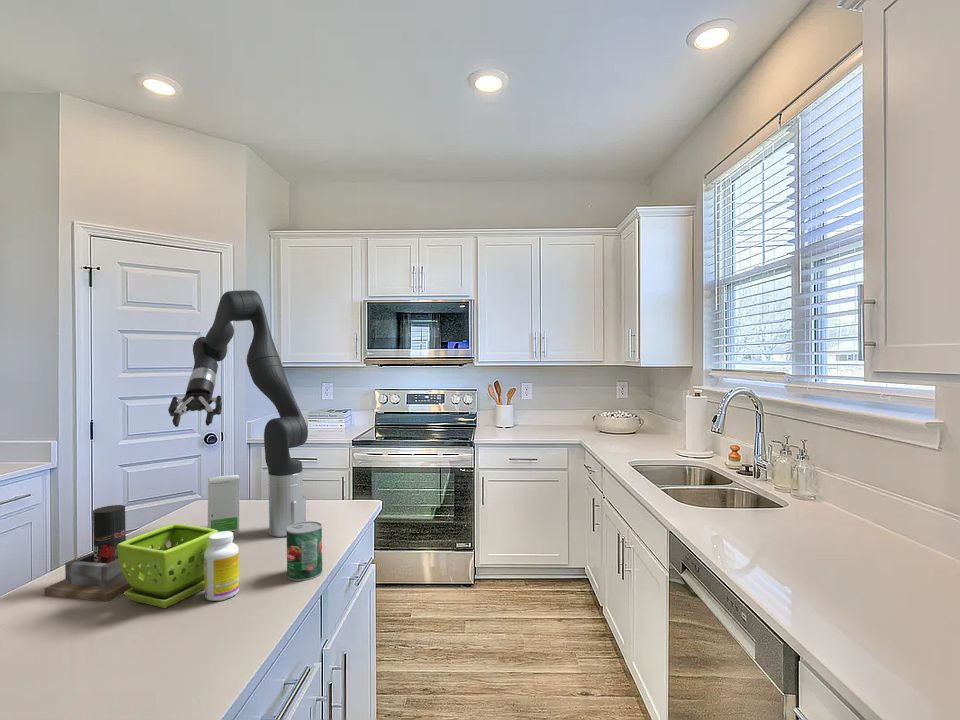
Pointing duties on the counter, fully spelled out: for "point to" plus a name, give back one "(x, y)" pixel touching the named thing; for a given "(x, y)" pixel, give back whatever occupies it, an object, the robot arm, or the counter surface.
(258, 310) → the robot arm
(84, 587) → the jig
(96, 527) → the deodorant
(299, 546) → the canned tomato
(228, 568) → the supplement bottle
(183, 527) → the flower pot
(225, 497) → the skincare box
